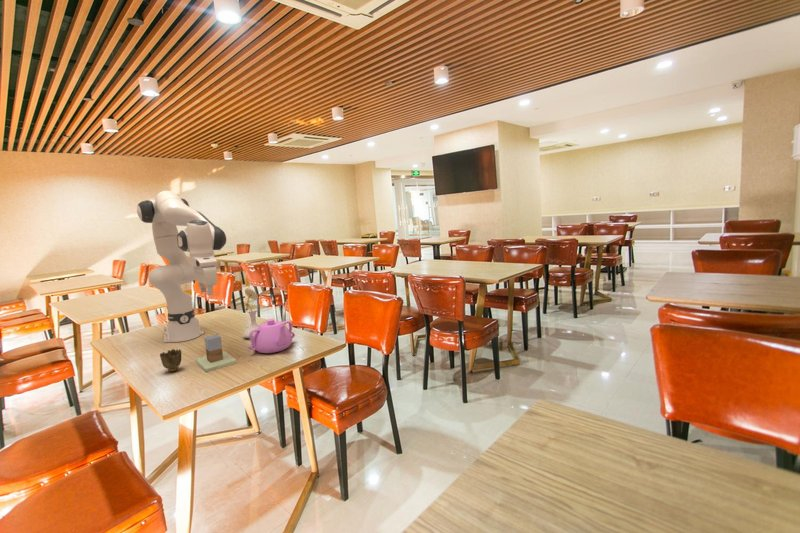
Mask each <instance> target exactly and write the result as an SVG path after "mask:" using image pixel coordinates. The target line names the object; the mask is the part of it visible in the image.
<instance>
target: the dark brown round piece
mask: <svg viewBox="0 0 800 533" xmlns="http://www.w3.org/2000/svg"><path fill="white" fill-rule="evenodd" d="M159 357H160V360H161V364H162V366H163V367H164V368H165V369H167V372H168V373H174V372H178V370H179V366H180V365H181V363H182V349H180V348H179V349H174V348H173V349H171V350H170V349H168V350H167V352H165V351H163V352H160V354H159Z"/></svg>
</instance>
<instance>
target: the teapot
mask: <svg viewBox="0 0 800 533" xmlns="http://www.w3.org/2000/svg"><path fill="white" fill-rule="evenodd" d="M286 324H288V326H289V327H287V325H286ZM292 331H293V322H291V321H290V320H284V321H280V320H275V319H274V318H269V319H268V318H267V320H266V322H263V323H261V324H260V325H259V327H258V329H254V330H252V331H251V332H250V334H249V337H250V338H249V339H250V342H251V343H249V345H248V350H250V351H254V350H255V351H257V353H260V354H261V353H262V354H272V353H273V354H274V353H277V352H281V351H284V350H286V349H287V348H289V347H290V346H291V344H292V343H293V338H294V337H295V335H296V334H295V333H294V332H292ZM254 332H256V333H255V335H254V338H253V337H252V335H253V333H254Z"/></svg>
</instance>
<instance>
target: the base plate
mask: <svg viewBox="0 0 800 533" xmlns="http://www.w3.org/2000/svg"><path fill="white" fill-rule="evenodd" d="M222 353H223V360H219V361H216V362H212V363H210V362H209V361H208V360H207V355H204V356H202V357H197V358H194V362H195V364H197V365H198V366H199V367H200V368H201V369H202V370H203V371H204V372H205V373H209V372H211V371H215V370H218V369H221V368H224V367H228V366H231V365H235V364H237V363H238V362H237V359H236V358H235V357H233V356H232V355H230V354H229V353H228V352H226V351H225V350H222Z"/></svg>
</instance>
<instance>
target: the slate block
mask: <svg viewBox="0 0 800 533" xmlns="http://www.w3.org/2000/svg"><path fill="white" fill-rule="evenodd" d="M204 343H205V344H204V345H205V350H206V349H207V350H208V351H213V350H216V349H220V348H222V349H223V345H222V336H220V335H219V334H212V335H208V336H204Z"/></svg>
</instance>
